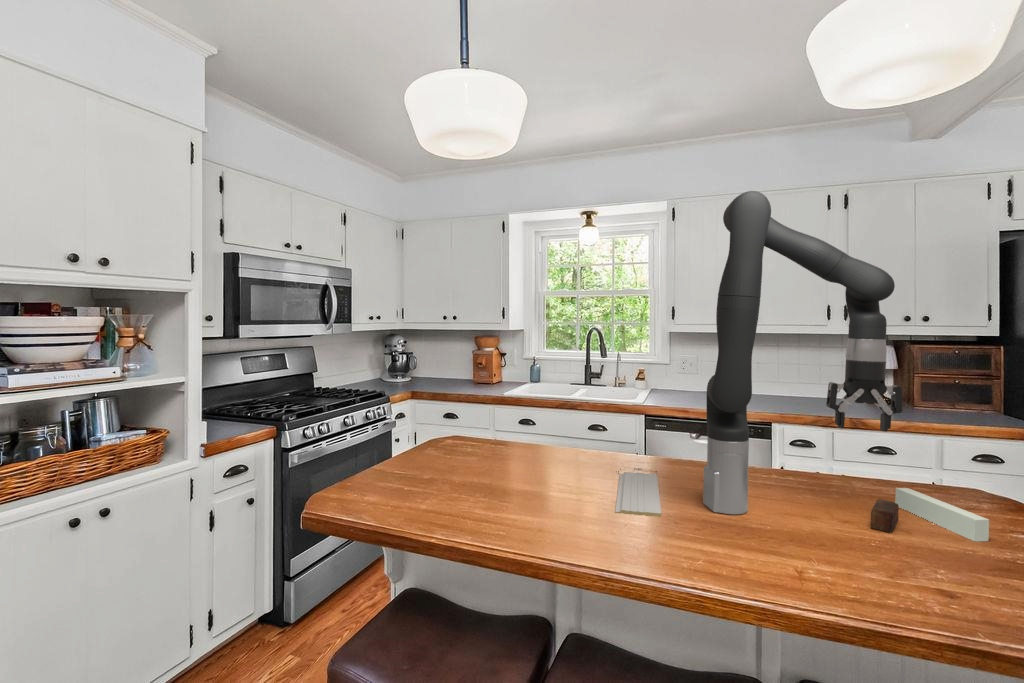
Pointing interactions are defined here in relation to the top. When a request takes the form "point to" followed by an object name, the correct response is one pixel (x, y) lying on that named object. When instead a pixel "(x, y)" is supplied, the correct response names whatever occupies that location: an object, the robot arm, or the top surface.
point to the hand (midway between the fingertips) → (862, 429)
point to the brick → (884, 515)
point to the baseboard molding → (638, 494)
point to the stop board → (943, 514)
